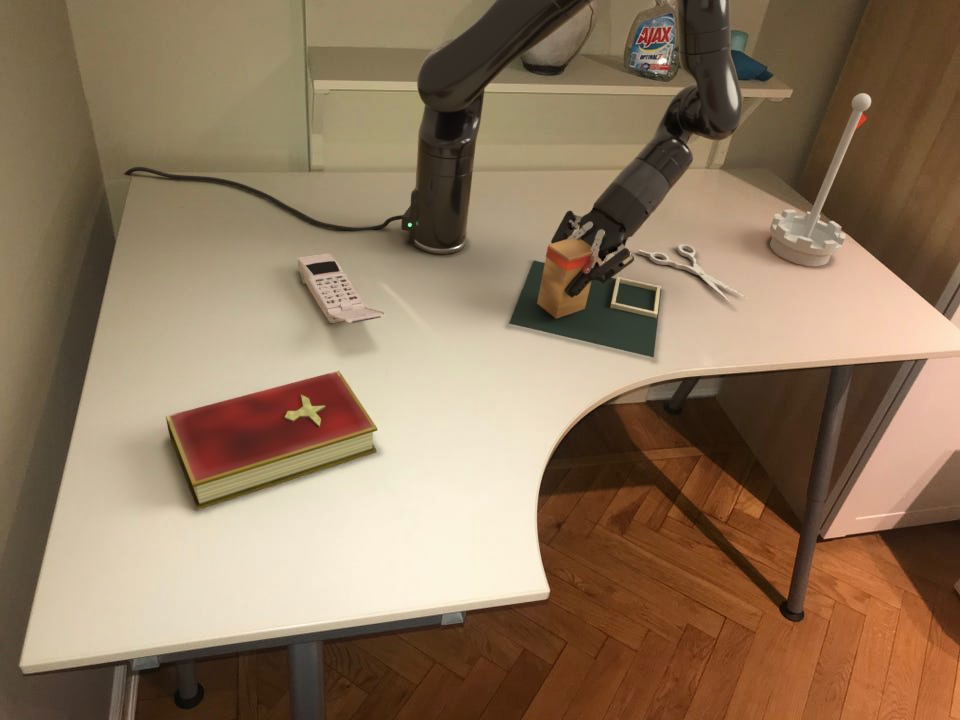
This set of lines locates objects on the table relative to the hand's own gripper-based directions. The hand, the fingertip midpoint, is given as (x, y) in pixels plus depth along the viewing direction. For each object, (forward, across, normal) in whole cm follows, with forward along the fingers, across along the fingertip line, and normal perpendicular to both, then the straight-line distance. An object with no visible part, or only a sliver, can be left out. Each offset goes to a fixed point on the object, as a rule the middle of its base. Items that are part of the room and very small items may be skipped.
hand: (557, 285), depth 114 cm
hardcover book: (+38, +5, -29) cm, 48 cm away
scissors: (-19, +2, +27) cm, 33 cm away
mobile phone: (+24, -18, -15) cm, 33 cm away
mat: (-1, +1, +10) cm, 10 cm away
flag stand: (-37, +5, +46) cm, 59 cm away
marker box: (+2, 0, +4) cm, 5 cm away
